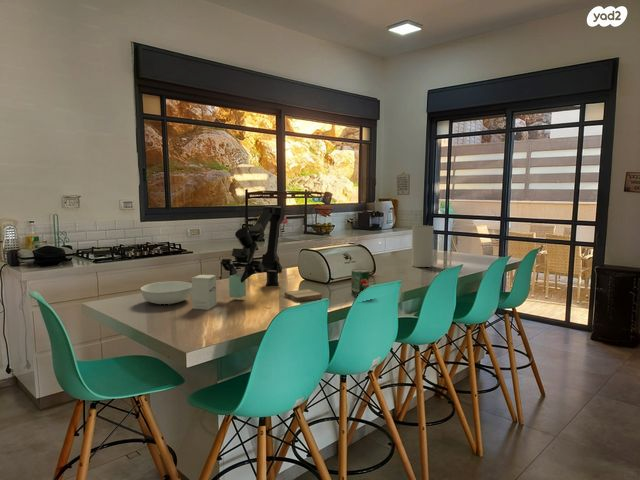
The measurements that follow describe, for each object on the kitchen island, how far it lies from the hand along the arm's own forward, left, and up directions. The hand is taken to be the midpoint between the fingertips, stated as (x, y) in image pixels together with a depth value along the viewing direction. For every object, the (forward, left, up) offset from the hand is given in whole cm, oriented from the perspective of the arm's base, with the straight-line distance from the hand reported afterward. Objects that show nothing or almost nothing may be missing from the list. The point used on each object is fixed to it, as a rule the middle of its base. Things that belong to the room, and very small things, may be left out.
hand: (235, 281), depth 189 cm
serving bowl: (0, -28, -8) cm, 30 cm away
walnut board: (-3, +29, -9) cm, 30 cm away
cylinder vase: (-79, +106, -8) cm, 132 cm away
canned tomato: (-7, +55, -8) cm, 56 cm away
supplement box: (+10, -11, -8) cm, 17 cm away
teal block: (-1, +1, -7) cm, 7 cm away
